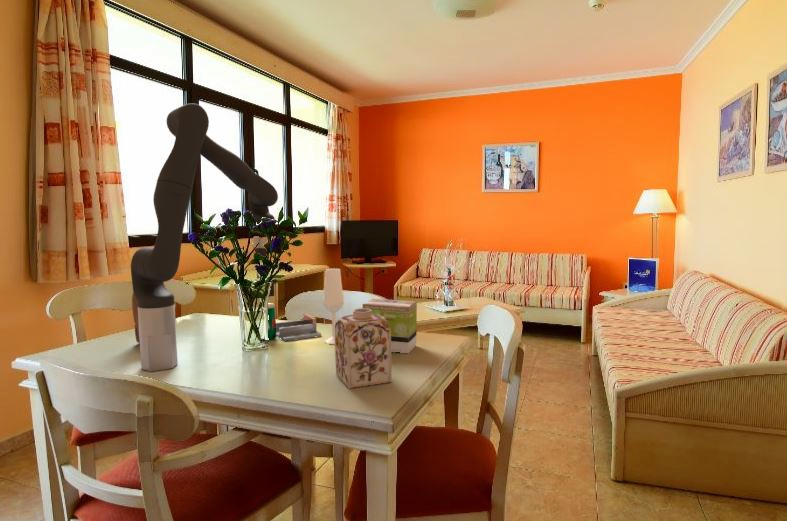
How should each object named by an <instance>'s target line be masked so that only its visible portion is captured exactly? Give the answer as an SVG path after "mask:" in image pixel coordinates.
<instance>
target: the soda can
mask: <svg viewBox="0 0 787 521" xmlns="http://www.w3.org/2000/svg"><path fill="white" fill-rule="evenodd" d="M267 303H268V315H269V320H268V338H269V341H274V340H275V339H276V338H277V336H276V323H277V322H276V321H277V320H276V319H277V318H276V306H275V303H273V302H267ZM269 341H268V342H269Z"/></svg>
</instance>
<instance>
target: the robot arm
mask: <svg viewBox="0 0 787 521" xmlns="http://www.w3.org/2000/svg"><path fill="white" fill-rule="evenodd" d="M209 124H210V120H209V116H208V114H207V111H206V110H205V108H203V106H201V105H200V104H198V103H193V102H192V103H191V102H190V103H187V104H183V105H181V106H179V107H177V108H175V109H173V110H171V111H170V112H168V115H167V116H166V126H167V129H168V131H169V132H170V134H172V136H174V137H175V139H174V144H173V147H172V149H171V152H170V153H169V155H168V157H167V159H166V160H165V163H163V166H162V168H161V170H160V172H159V175H158V177H157V179H156V185H155V188H154V192H153V206H154V207H153V208H154V210H155V211H154V212H155V215H156V219H157V234H156V239H155V243H154V246H153V247H152V246H151V247H148V246H147V247H146V246H145V247H141V248H139V249H137V250H136V251H135V252H134V253H133V255H132V258H131V260H130V275H131V283H132V291H133V292H132V294H133V293H134V296H135V298H136V300H137V305H138V322H139V338H140V344H139V352H140V367H141V369H142V370H143V371H148V373H149V372H156V371H157V372H158V371H163V370H169V369H174V367H176V366H177V365H178V346H177V334H176V333H177V330H176V328H177V327H176V310H175V309H176V307H175V296H174V294H173V293H172V292H171V291H170V290H169V289H167V287H166V285H165V283H166V282H169V281H170V280H172V279H173V278H174V277H175V275H176V274H177V272H178V269H179V265H180V260H181V251H182V241H183V234H184V233H183V232H184V228H185V223H186V217H187V212H188V209H189V205H190V201H191V196H192V192H193V188H194V187H193V186H194V182H195V176H196V172H197V166H198V162H199V157H200V156H202V157H204V159H206V160H207V161H208V162H210V163H211V164H212V165H213V166H214V167H216V168H217V169H218V170H219V171H220V172H221V173H222V174H223V175H225V177H227V178H228V179H229V180H230V181H231V182H232V183H233V184H234V185H235V186H236V187H238V188H239V189H242V190H245V191H246V192H248V196H247V201H248V206H249V210H250V214H251V213H253V214H254V216H255V218H256V222H257V224H259V223H260V222H261V218H262V217H266V218H270V219H275V216H274V215H273V214H272V213H270V209H269V207H272V206H274V205H275V204H276V203H277V202H278V199H279V194H278V191H277V189H276V187H275V186H273V184H272V183H270V182H268V180H266V179H265V178H263V177H262V176H260V175H259V174H257V173H256V172H254V170H253V169H252V168H251V167H250V166H249V165H248V164H247V163H246V162H245V161H244V160H242V159H241V158H240V157H239V156H238V155H236V154H235V153H233V151H231V150H228V149H227V148H225V147H223V146H222V145H220V144H219V143H217V142H216V141H215V140H213V139H212V138H210V136H208V135H207V132H208V130H209ZM275 220H276V219H275ZM266 242H267V239H266V238H265V237H264V238H261V239H260V237H259V236H254V237H253V238H252V247H253V249H254V248H255V247H256V245H257V244H258V243H259V245H258V246H257V248H256V249H255V252H256V253H260V255H262V256H266V254H267V251H266V249H265V248H264V247H263V246H264V245H263V244H265V243H266ZM259 278H260V277H259V275H258V273H257V272H256V280H258V279H259ZM275 284H277V280H276V281H274V282H273V283H272V286H271V290H270V295H269V296H268V297H275ZM164 285H165V286H164Z"/></svg>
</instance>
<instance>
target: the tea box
mask: <svg viewBox="0 0 787 521" xmlns="http://www.w3.org/2000/svg"><path fill="white" fill-rule="evenodd" d="M417 303H418V302H417V301H413V300H400V299H397V300H396V299H385V298H384V299H383V298H382V299H381V298H371V299H370V300H369V301H367V302H365V303H363V304H362V308H367V309H371V310H372V314H375V315H380V316H383V317H384V318H386V320H387V323H388V325H389V327H390V330H391V353H395V352H400V353H399V354H403V353H408V354H410V352H411V351H412V350H413V349H414V348H415V347H416V346H417V336H418V334H417V332H418V331H417V330H418V329H417V323H418V322H417V321H418V320H417V318H418V316H417V315H418V314H417V313H418V312H417V310H418V307H417V306H418V305H417Z"/></svg>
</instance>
